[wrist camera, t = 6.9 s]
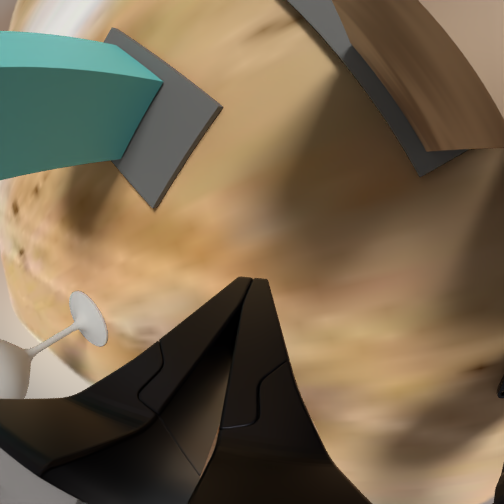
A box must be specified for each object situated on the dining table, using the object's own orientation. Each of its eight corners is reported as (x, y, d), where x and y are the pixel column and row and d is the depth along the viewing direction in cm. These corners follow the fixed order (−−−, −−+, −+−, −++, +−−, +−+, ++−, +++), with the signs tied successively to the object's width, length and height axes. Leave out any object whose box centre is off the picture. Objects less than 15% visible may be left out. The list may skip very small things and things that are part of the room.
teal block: (163, 81, 18) (0, 67, 8) (120, 159, 22) (-24, 186, 11) (116, 45, 19) (-17, 30, 9) (82, 114, 22) (-41, 126, 12)
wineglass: (88, 283, 30) (-74, 371, 12) (118, 346, 31) (-26, 449, 13) (62, 294, 34) (-69, 366, 16) (89, 347, 35) (-33, 430, 17)
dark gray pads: (613, 230, 8) (617, 232, 8) (85, 212, 27) (80, 213, 26) (571, -21, 3) (574, -24, 3) (77, 37, 21) (72, 37, 21)
